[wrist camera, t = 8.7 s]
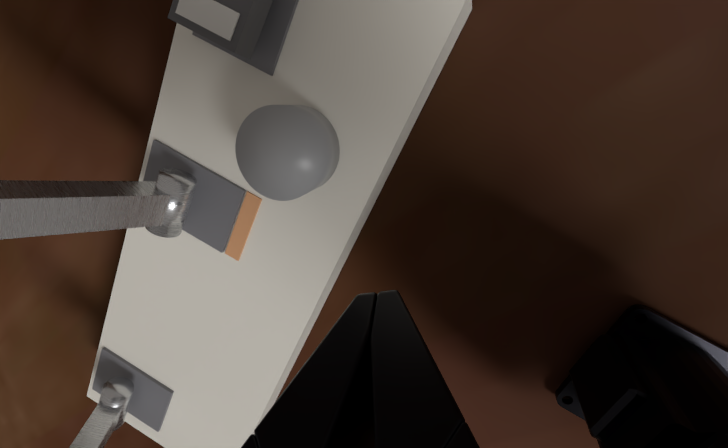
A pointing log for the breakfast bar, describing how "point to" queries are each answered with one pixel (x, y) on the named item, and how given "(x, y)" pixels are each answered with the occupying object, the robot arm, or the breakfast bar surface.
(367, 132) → the control panel
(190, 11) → the block
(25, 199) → the copper ball joystick
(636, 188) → the breakfast bar surface
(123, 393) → the lever
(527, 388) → the breakfast bar surface
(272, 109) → the push button
